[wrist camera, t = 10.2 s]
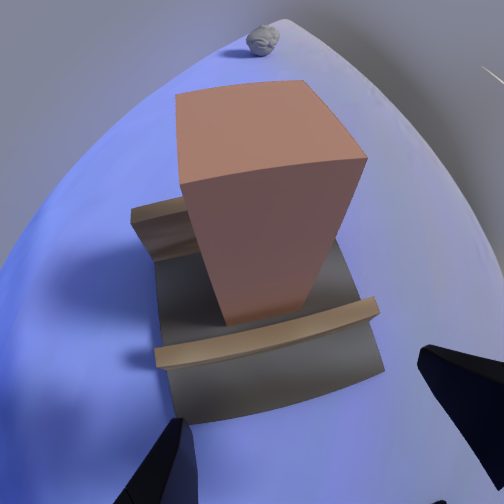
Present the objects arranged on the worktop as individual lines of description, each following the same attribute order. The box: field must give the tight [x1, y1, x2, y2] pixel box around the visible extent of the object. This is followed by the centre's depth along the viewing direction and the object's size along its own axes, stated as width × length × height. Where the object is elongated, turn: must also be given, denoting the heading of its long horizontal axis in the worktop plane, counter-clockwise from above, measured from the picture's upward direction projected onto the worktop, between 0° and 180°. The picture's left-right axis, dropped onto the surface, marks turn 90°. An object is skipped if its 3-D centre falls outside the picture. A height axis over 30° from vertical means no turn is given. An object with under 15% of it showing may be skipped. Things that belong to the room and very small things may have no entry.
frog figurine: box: [246, 25, 280, 56], centre depth 41 cm, size 6×7×7 cm
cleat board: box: [131, 197, 385, 425], centre depth 16 cm, size 13×14×6 cm
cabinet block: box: [175, 80, 368, 327], centre depth 13 cm, size 6×5×13 cm
